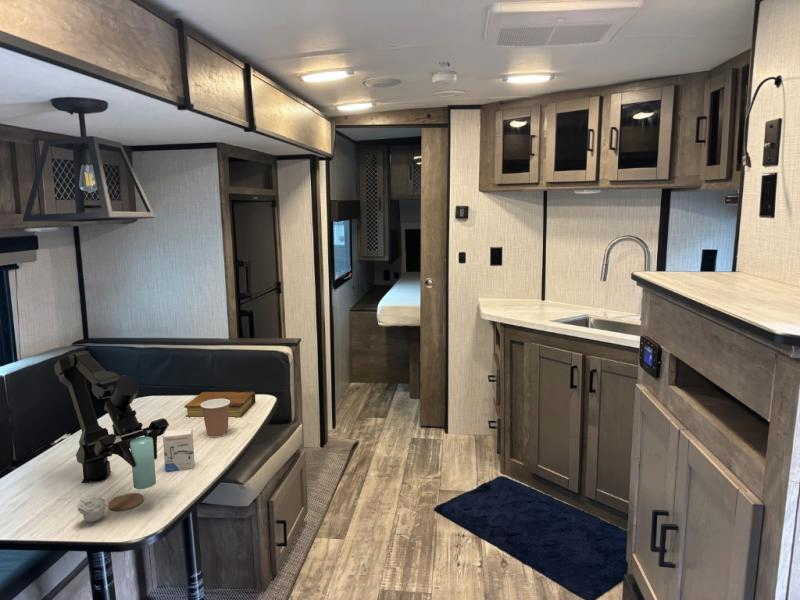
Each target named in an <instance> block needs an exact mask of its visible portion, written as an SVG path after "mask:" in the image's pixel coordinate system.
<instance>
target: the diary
mask: <svg viewBox="0 0 800 600" xmlns="http://www.w3.org/2000/svg"><path fill="white" fill-rule="evenodd" d="M212 399H227V400H229V401H230V403H229V417H235V418H234V419H236V418H237V419H238V418H241V419H242V418H243V416H244V415H246V413H248V411H249V410H250V409H251V408H252V407H253V406H254V405H255V404H256V392H255V391H202V392H200V393H199V394H198V395H196V396H195V397H194V398H193V399H192V400H190V401H189V402H187V403H186V404H185V405H184V408H185V409H186V413H187V415H185V417H189V418H188V419H191V418H190V417H204V416H203V412H202V407H201V403H203V402H205V401H208V400H212Z"/></svg>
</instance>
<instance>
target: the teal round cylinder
mask: <svg viewBox="0 0 800 600" xmlns="http://www.w3.org/2000/svg"><path fill="white" fill-rule="evenodd" d="M130 451H131V454H132V456H133V458H134V461H135V464H136V466H135V467H132V466H131V471H132V483H133V484H132V485H133V488H134V489H137V490H144V489H145V490H146V489H149V488H152V487H153V486H155V485H156V484H157V477H156V465H155V459H154V448H153V438H152V437H145V436H141V437H138V438H135V439H133V440H132V441H130Z"/></svg>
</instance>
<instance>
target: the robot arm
mask: <svg viewBox="0 0 800 600" xmlns="http://www.w3.org/2000/svg"><path fill="white" fill-rule="evenodd" d="M53 370H54V373H55V374H56V376H58V380H59V382H60V383H61V384H63V385H64V386H65V387H67V389H68V391H69V394H70V397H71V400H72V403H73V407H74V410H75V413H76V414H75V415H76V417H77V419H78V422H79V423H78V424H79V426H80V429H81V434H80V438H79V441H78V445H79V447H78V450H77V451H76V454H75V457H76V461H77V462H78V463H79V464H81V467H82V474H83V479H82V480H81V483H83V484H85V483H97V482H99V483H100V482H105V481H106V480H107V478H108V477H109V476H110V474H111V473H112V470H111V461H110V460H109V459H108V458H109V457H112V456H113V455H117V456H119V457H120V458H121V459H123V460H124V461H125V462H126V463H128V465H130V466H131V468H132V467H135V466H136V464H135V461H134V458H133V456H132V454H131V449H130V441H132V440H133V439H135V438H139V437H152V438H153V448H154V460H157V459H158V437H160V436H163V435H164V432H166V431H167V429H168V428H169V426H170V424H169V421H168V420H167V419H166V418H164V417H163V418H159V419H156V420H152V421H151V422H150V423H149V424H148V426H147V427H144V428H142V427H143V425H144V424H143V423H142V422H139V420H138V419H137V411H136V410H135V409H134V410H133V408H132V406H131V405H132V403H133V401H135V398H136V396H137V395H138V392H139V391H140V384H139V382H137V381H136V380H135V379H132V378H128V376H127V375H125V374H124V375H119V374H117V373H116V372H113V371H107V370H106V369H105V368H104V367H103V366H102V365H100V364H99V362H98V361H97V360H96V359H94V357H92V354H91V352H90V351H88V350H84V351H82V350H81V351H77V352H72V353H71V354H69V355H68V356H65V357H64V358H61V359H58V360H57V362H56V363H55V364H54V366H53ZM86 381H89V382H90V383H91V392H92V393H93V396H95V398H96V399H98V400H103V399H107V398H108V399H107V400H106V401H105V404H104V408H103V411H104V412H107V414H108V416H109V418H110V420H111V422H112V424H111V427H112V430H113V433H109V430H108V429H107V428H106V427H102V426H101V425H100V424H99V421H98V418H97V415H96V411H95V409H94V405H93V403H92V399H91V396H90V393H89V389H88V387H87V384H86Z"/></svg>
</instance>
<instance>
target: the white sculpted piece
mask: <svg viewBox="0 0 800 600" xmlns="http://www.w3.org/2000/svg"><path fill="white" fill-rule="evenodd" d="M76 507H77V511H78V512H79V513H80V514H81V515H82V517H83V519H84V521H87V522H88V523H89V522H91V523H94V522H97V521H99V520H101V518H102V517H103V516H104V513H105V511H107V510H106V509H107V503H106V499H104V498H102V497H99V496H98V497H96V496H92V495H88V496H86V497H81V499H80V502H78V504H77V505H76Z"/></svg>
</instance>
